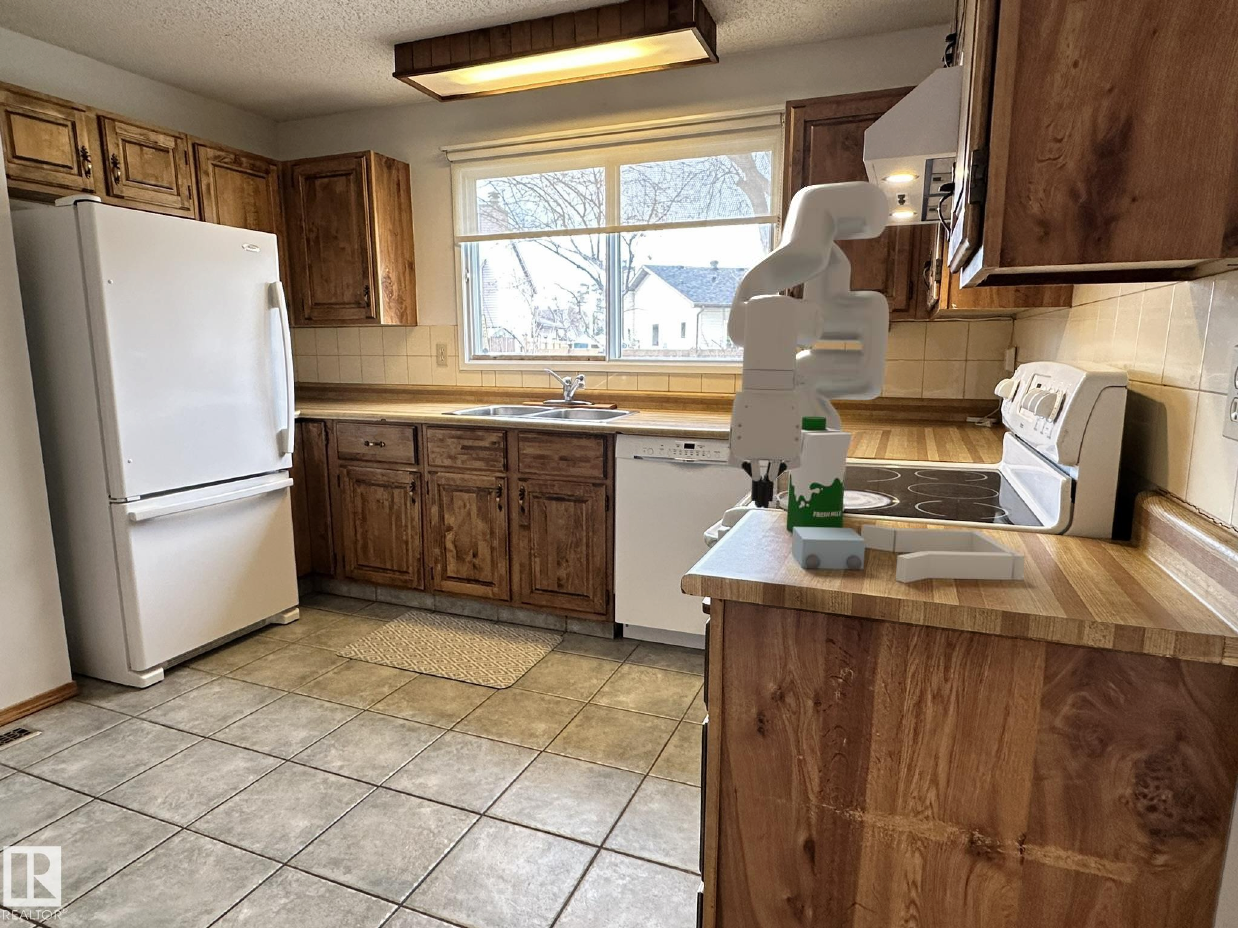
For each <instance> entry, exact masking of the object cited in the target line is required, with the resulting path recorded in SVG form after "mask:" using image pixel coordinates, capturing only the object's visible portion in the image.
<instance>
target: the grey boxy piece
mask: <svg viewBox="0 0 1238 928" xmlns="http://www.w3.org/2000/svg"><path fill="white" fill-rule="evenodd" d="M791 541H792V543H791V555H792V557H793V558H794V559H795V561H796V562H797V563H798V565H799V567H800V568H801V569H811V570H816V569H832V570H833V569H835V570H836V569H839V570H840V569H841V570H844V569H846V570H852V571H858V570H864V565H865V564H864V563H865V552H866V551H865V550H866V547H865V540H864V539H863V538H862V537H861V534H859V533H858V532H856V531H855V529H854V528H852V527H843V528H823V527H793V532H792V540H791Z"/></svg>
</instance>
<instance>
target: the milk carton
mask: <svg viewBox="0 0 1238 928" xmlns="http://www.w3.org/2000/svg"><path fill="white" fill-rule="evenodd" d="M852 438H853V433H851V432H846V431H844V430H834V429H829V428H826V418H824V417H803V418H802V428H801V453H800V461H801V466H800V467H799V468H795V469H790V479H789V478H788V486H789V497H788V496H787V497H788V510H787V513H786V515H787V516H786V528H785V529H786V530H788V531H790V532H791V533H793V527H823V528H844V511H843V503H844V496H845V484H846V482H845V481H846V465H847V457H848V453H849V452H848V451H849V448H850V445H851V442H852Z"/></svg>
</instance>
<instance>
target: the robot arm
mask: <svg viewBox="0 0 1238 928" xmlns="http://www.w3.org/2000/svg"><path fill="white" fill-rule="evenodd" d="M887 197H888V196H887V195H886V193H885V192H884V190H883V189H882V188H881V187H879V186H878V185H876V184H874V183H872V182H868V181H861V180H860V181H846V182H836V183H822V184H815V185H811V186H810V185H809V186H807V187H806V186H805V187H804V188H802V189H800V190H799V191H798V192H797V193H795V195H794V196H793V198H792V200H791V202H790V204H789V207H788V211H787V213H786V218H785V221H784V224H783V227H782V232H781V235H780V238H779V242H778V245H777V248H776V249H775V250H773V251H771V252H770V253H768V254H766V255H765V256H764V257H763V258H762V259H760V260H759V261H757V262H756V264H755V265H753V266H752V267H750V269H749V270H748V271H747V272H746V273H745V274H744V275H743V276H742V277H741V279H740V281H739V283H738V285H737V287H736V291H735V293H734V296H733V299H732V304H731V307H730V311H729V314H728V320H727V321H728V322H727V331H728V335H729V339H730V340H731V342H732V343H733V344H734V345H736V346H737V347H738V348H743V355H742V375H741V390H737V391H735V394H734V399H733V403H732V411H731V416H730V424H729V425H730V426H729V434H728V435H729V436H728V437H729V438H728V451H729V453H728V457H727V460H726V464H728V466H730V467H734V468H737V469H740V470H743V471H744V472H746V474H747V475H748V476H749V477H750V478H751V493H750V494H751V495H750V500H751V502H754V505H755V507H756V508H757V509H761V508H764V509H769V506H770V502H772V503H773V500H774V488H775V487H774V486H775V482H776V481H777V479H778V478H779V477H780V476H781V475H782V474H783V473H784V472H785V471H788V480H789V479H790V469H795V468H799V467H800V466H801V461H800V453H801V428H802V418H803V417H824V418H826V428H829V429H834V430H841V431H843V430H842V429H843V426H842V419H841V416H840V415H839V412H838V411H837V410H836V409H835V407H834V406H833V404H832V403H831V402H830V400H851V401H853V400H854V401H856V400H857V401H869V400H873V399H876V398H878V397H879V396H880V394H881V393H882V392H883V387H884V383H885V377H886V366H887V365H886V363H887V352H888V351H887V350H888V338H889V328H890V327H889V325H890V323H889V322H890V311H889V308H890V307H889V304H888V300H887V298H886V296H885V295H884V294H882V293H881V292H879V291H873V290H857V291H856V290H854V291H852V290H851V288H850V287H851V285H850V284H851V275H852V274H851V273H852V266H851V262H850V260H849V259H848V257H847V256H846V254H845V253H844V251H843V250H842V249H841V248H840V247H839V245H837V244H836V243H835V242H834V241H842V240H843V241H845V240H862V239H863V240H866V239H867V240H868V239H873V238H877V237H879V236H881V234H882V233H883V232H884V230H885V229H886V226H887V223H888V219H889V209H890V208H889V202H888V201H889V200H888V198H887ZM802 284H803V292H802V293H803V294H802V295H803V296H802V298H794V297H792V296H790V295H783V294H780V295H779V294H777V293H780V292H783V291H786V290H789V289H791V288H794V287H796V286H800V285H802ZM818 342H821V343H825V342H826V343H857V344H859V345H860V346H861V349H856V348H854V349H852V348H851V349H849V348H844V349H843V348H811V347H813V346H814V345H816V343H818ZM810 348H811V349H810ZM797 350H802V351H800V352H798V353H797ZM760 461H767V466H766V470H765V474H764V475H763V476H762V475H761V468H760V467H761V465H760ZM788 497H789V485H788V489H787V496H785V497H782V498H781V499H779V507H781V508H782V509H783V510H786V511H788ZM845 506H846V504H845V503H844V502H843V512H844V511H845Z"/></svg>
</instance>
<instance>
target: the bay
mask: <svg viewBox="0 0 1238 928" xmlns="http://www.w3.org/2000/svg"><path fill="white" fill-rule="evenodd" d="M860 536H861V537H862V538H863V539H864V540H865V549H867V548H868V549H872V550H878V551H879V550H880V551H885V552H886V551H887V552H894V553H905V554H900V555H897V558H896V559H897V560H896V571H895V572H896V573H895V580H896V581H898V582H901V583H903V584H906V583H907V584H908V583H910V582H911V583H912V582H915V581H916V582H917V581H921V580H925V579H951V580H953V579H959V580H960V579H962V580H998V581H999V580H1002V581H1003V580H1004V581H1005V580H1006V581H1011V580H1012V581H1023V575H1024V574H1023V572H1024V566H1025V565H1024V563H1025V555H1023V554H1021V553H1020V552H1018V551H1016V550H1014V549H1013V548H1011V547H1009V546H1007V545H1006V544H1004V543H1002V542H1000V541H998V540H996V539H995V538H993V537H992V536H989V535H988V534H986V533H984V532H982V531H980V530H979V529H961V528H960V529H959V528H957V529H950V528H945V529H944V528H909V527H908V528H905V527H903V528H902V527H901V528H900V527H899V528H898V527H888V526H882V525H873V524H866V523H863V524H862V525H861V532H860Z"/></svg>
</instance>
